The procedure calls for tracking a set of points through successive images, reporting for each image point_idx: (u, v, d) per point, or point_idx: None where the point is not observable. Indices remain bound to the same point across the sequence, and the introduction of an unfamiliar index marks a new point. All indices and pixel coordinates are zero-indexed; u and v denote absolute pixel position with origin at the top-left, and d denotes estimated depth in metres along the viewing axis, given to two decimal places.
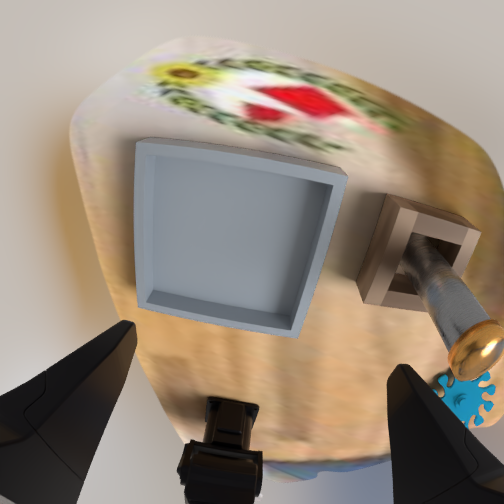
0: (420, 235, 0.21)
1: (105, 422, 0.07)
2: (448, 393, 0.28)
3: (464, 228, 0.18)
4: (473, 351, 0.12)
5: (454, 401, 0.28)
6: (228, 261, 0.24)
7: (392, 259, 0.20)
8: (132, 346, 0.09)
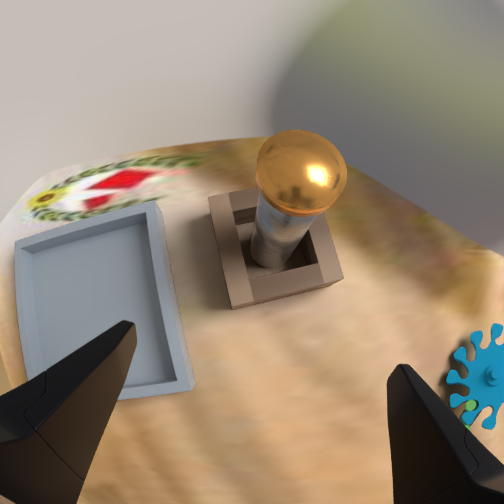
0: None
1: (105, 422, 0.07)
2: (470, 382, 0.19)
3: None
4: (272, 160, 0.12)
5: (485, 382, 0.18)
6: (98, 333, 0.21)
7: (230, 244, 0.21)
8: (132, 346, 0.09)
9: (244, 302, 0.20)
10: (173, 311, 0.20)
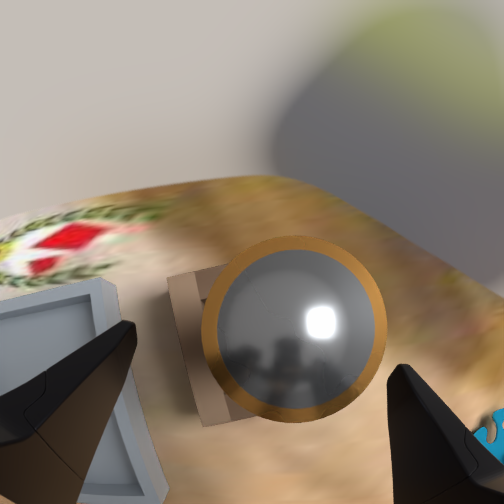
0: None
1: (105, 422, 0.07)
2: None
3: None
4: (234, 320, 0.06)
5: None
6: None
7: (198, 348, 0.14)
8: (132, 346, 0.09)
9: (219, 422, 0.13)
10: (132, 423, 0.14)
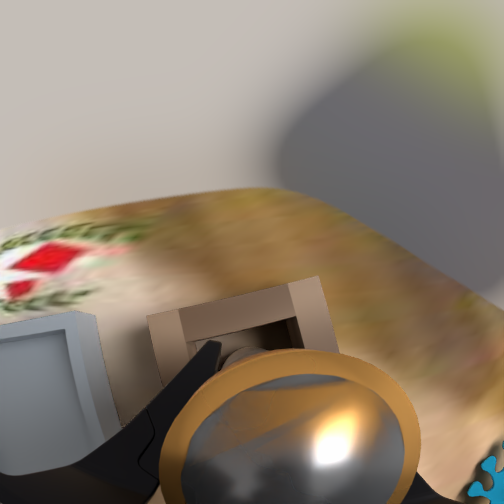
0: (242, 348, 0.15)
1: None
2: (493, 495, 0.10)
3: (278, 290, 0.13)
4: (204, 473, 0.03)
5: None
6: (41, 459, 0.12)
7: None
8: (217, 366, 0.09)
9: None
10: None
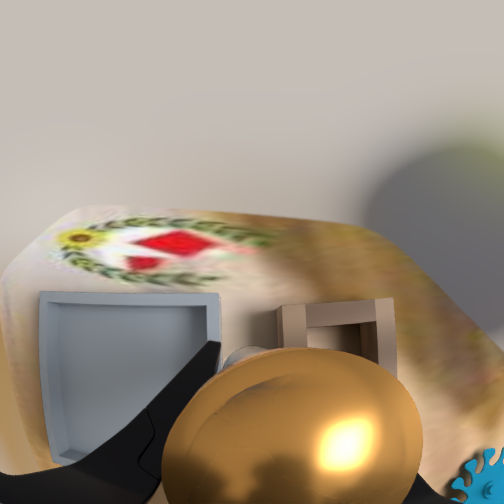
0: (242, 348, 0.15)
1: None
2: (470, 491, 0.15)
3: (369, 302, 0.19)
4: (207, 472, 0.03)
5: (482, 494, 0.14)
6: (133, 413, 0.19)
7: None
8: (217, 366, 0.09)
9: None
10: None
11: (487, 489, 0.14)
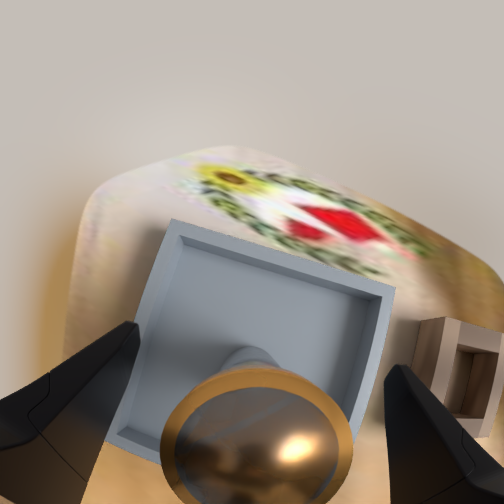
0: (240, 348, 0.17)
1: (109, 423, 0.07)
2: None
3: (498, 334, 0.16)
4: (190, 452, 0.05)
5: None
6: None
7: (442, 378, 0.15)
8: (135, 347, 0.09)
9: None
10: None
11: None
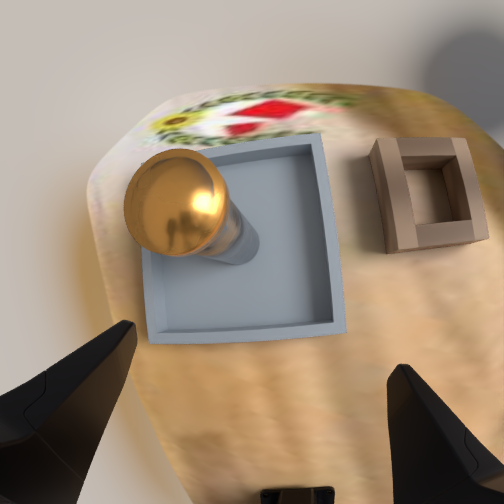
0: None
1: (105, 422, 0.07)
2: None
3: (447, 139, 0.18)
4: (138, 210, 0.10)
5: None
6: (242, 266, 0.22)
7: (399, 188, 0.19)
8: (132, 346, 0.09)
9: (410, 247, 0.18)
10: None
11: None
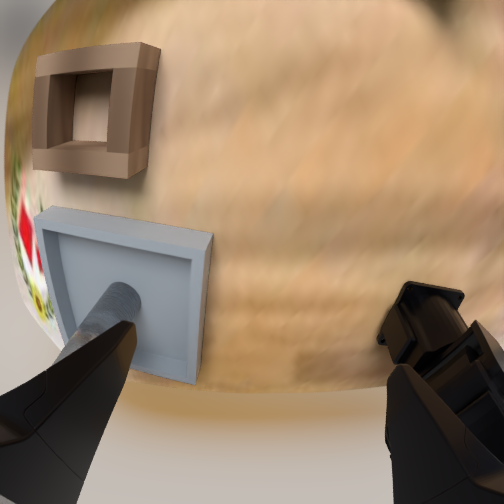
0: None
1: (105, 422, 0.07)
2: None
3: (36, 83, 0.13)
4: None
5: None
6: (142, 300, 0.23)
7: (72, 160, 0.16)
8: (132, 346, 0.09)
9: (127, 164, 0.16)
10: (125, 233, 0.19)
11: None
